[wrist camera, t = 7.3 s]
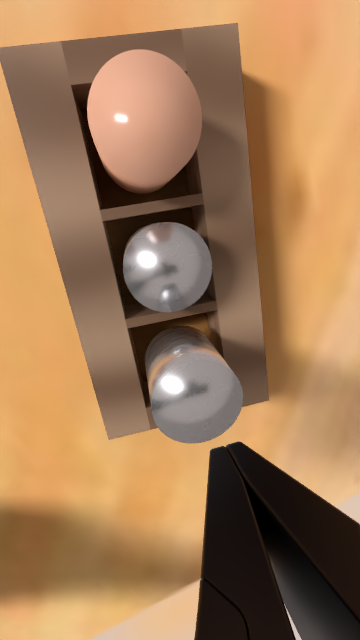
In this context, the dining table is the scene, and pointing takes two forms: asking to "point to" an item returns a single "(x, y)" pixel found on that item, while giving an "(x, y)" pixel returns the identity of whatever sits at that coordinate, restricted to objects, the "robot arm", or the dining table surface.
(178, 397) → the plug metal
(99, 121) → the peach egg-shaped piece
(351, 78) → the dining table surface
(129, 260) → the plug metal mid
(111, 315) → the brown wooden tray
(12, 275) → the dining table surface
